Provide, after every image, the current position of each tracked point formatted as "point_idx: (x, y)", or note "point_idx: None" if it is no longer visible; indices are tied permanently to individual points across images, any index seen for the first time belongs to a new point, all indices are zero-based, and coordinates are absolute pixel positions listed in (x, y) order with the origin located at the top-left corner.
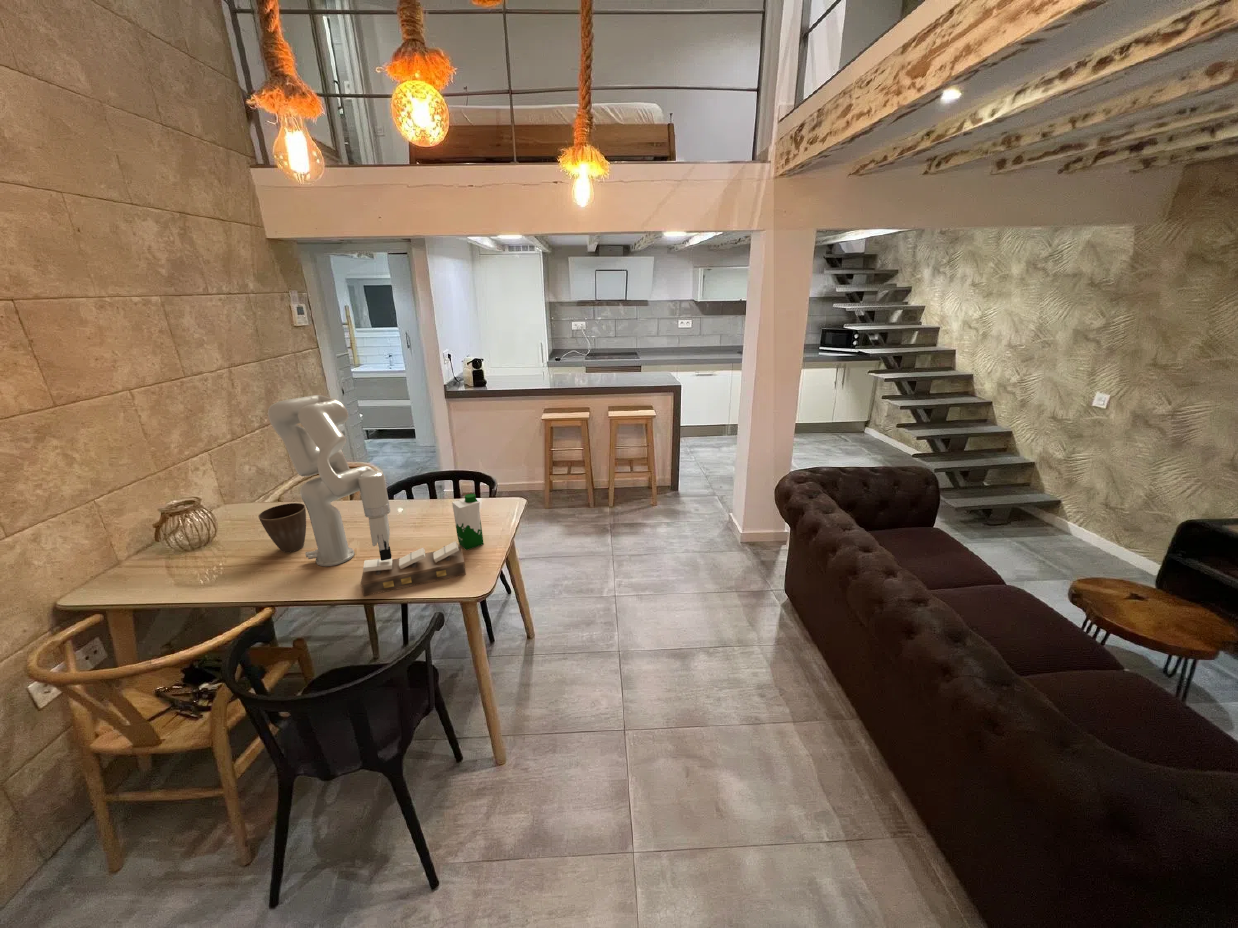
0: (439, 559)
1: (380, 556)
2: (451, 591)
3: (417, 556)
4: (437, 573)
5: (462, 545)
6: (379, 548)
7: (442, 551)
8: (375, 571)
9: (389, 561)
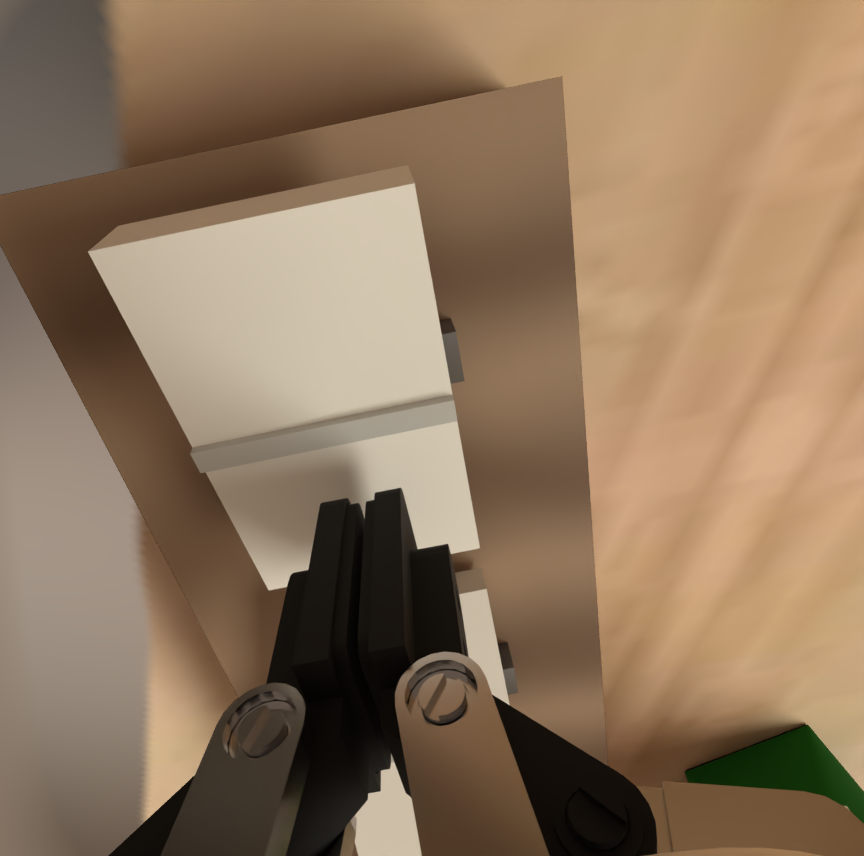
0: None
1: (313, 551)
2: (162, 787)
3: (363, 822)
4: None
5: (743, 768)
6: (202, 777)
7: None
8: None
9: None
